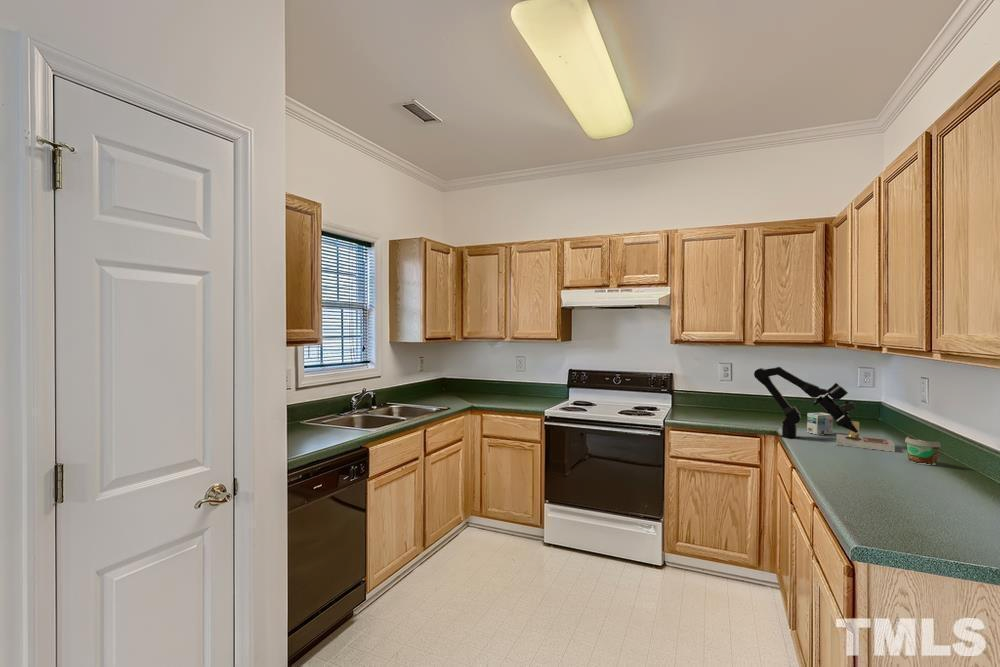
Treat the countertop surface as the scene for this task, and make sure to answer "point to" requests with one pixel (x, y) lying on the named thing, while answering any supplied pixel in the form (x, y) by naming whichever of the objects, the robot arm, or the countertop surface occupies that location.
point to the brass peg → (853, 434)
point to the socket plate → (866, 443)
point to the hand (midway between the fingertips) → (857, 431)
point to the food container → (922, 451)
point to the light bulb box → (819, 423)
